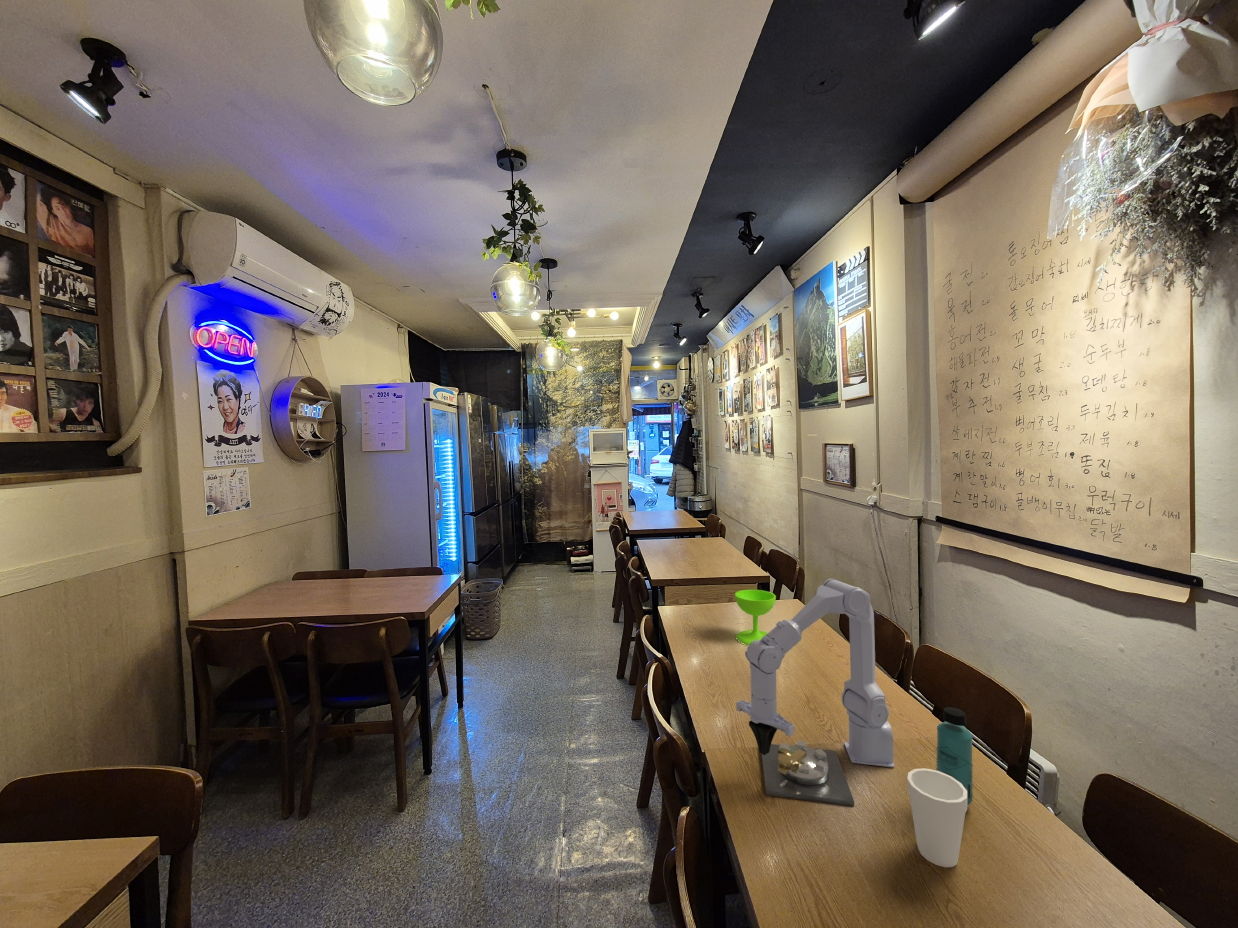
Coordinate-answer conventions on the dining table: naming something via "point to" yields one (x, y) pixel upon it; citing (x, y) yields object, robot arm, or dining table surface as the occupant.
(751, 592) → the wineglass
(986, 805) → the dining table surface
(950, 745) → the beverage bottle
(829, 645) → the dining table surface
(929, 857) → the foam cup
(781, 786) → the dark grey square plate
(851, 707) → the robot arm
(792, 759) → the metal round piece
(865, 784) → the dining table surface
